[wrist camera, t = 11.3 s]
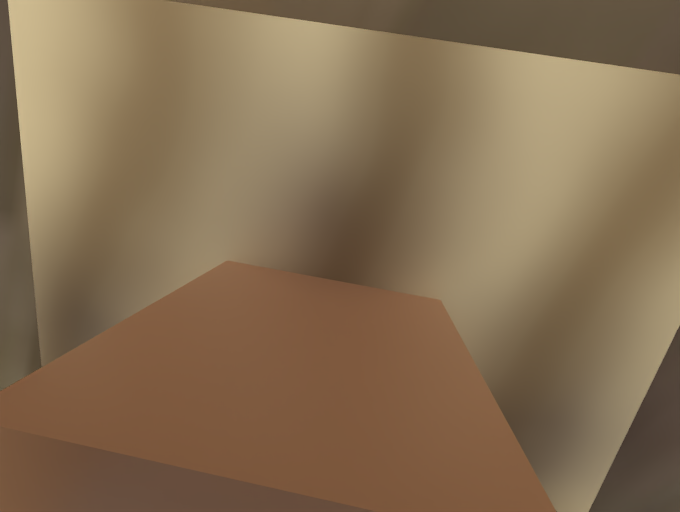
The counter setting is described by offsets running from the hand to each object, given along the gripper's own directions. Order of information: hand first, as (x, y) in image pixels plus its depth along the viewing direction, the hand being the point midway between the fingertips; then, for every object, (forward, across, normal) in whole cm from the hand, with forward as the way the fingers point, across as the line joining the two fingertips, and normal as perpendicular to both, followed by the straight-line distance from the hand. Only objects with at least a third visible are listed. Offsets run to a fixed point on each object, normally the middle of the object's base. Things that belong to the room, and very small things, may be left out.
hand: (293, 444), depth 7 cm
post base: (+4, 0, 0) cm, 4 cm away
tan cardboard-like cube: (+3, 0, 0) cm, 3 cm away
